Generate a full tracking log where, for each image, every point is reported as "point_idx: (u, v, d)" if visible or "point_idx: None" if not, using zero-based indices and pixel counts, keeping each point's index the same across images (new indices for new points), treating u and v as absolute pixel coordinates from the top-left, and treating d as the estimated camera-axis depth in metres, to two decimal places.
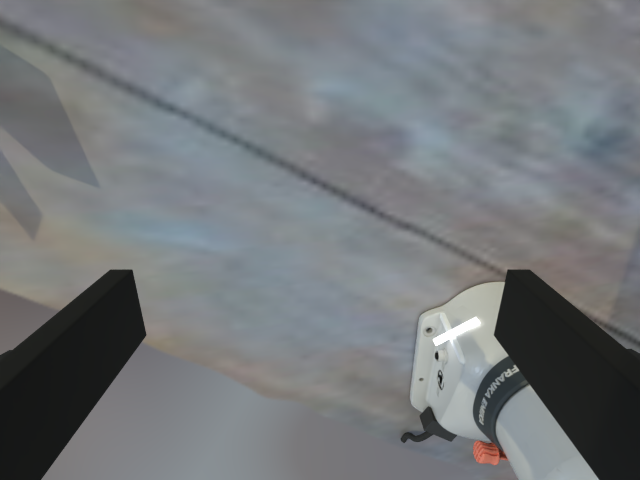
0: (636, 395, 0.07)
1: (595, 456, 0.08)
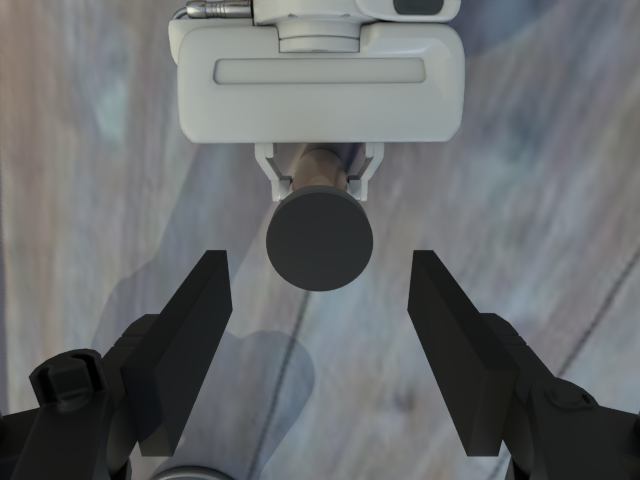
0: (466, 343, 0.09)
1: (450, 399, 0.10)
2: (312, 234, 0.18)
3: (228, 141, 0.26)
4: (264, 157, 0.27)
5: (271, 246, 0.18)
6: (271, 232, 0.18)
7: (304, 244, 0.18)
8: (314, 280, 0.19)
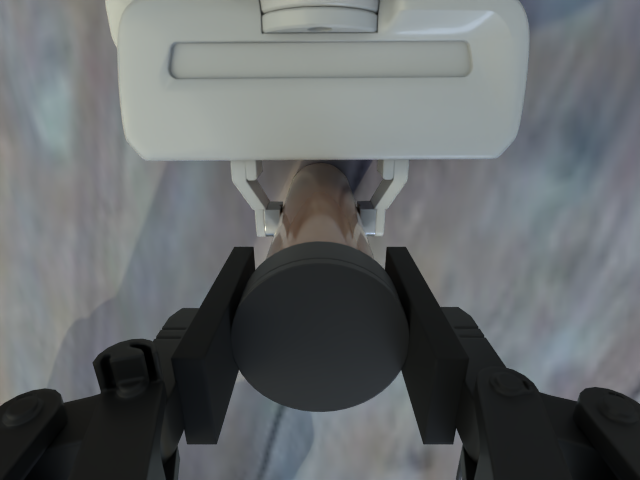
0: (423, 334, 0.09)
1: (412, 390, 0.10)
2: (308, 329, 0.10)
3: (193, 158, 0.19)
4: (244, 179, 0.20)
5: (238, 347, 0.11)
6: (238, 326, 0.10)
7: (295, 344, 0.11)
8: (311, 396, 0.11)
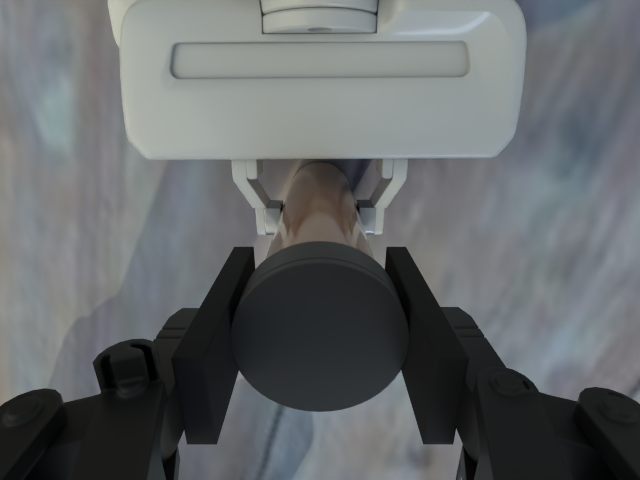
0: (423, 334, 0.09)
1: (412, 390, 0.10)
2: (314, 361, 0.11)
3: (194, 157, 0.19)
4: (245, 178, 0.20)
5: (373, 389, 0.11)
6: (354, 401, 0.11)
7: (336, 359, 0.11)
8: (377, 311, 0.10)
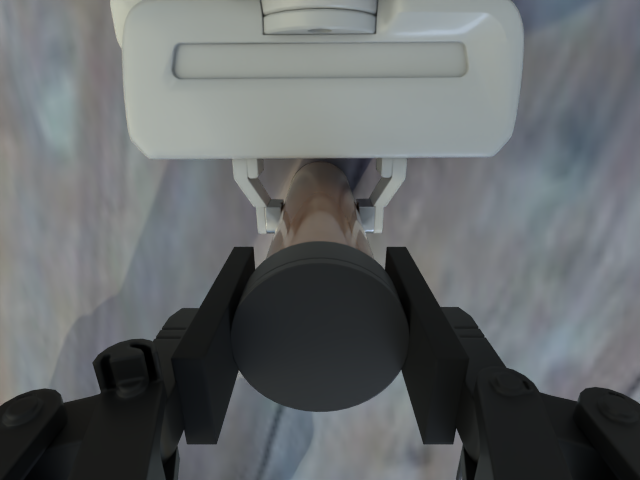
0: (423, 334, 0.09)
1: (412, 390, 0.10)
2: (339, 336, 0.11)
3: (196, 157, 0.19)
4: (246, 177, 0.20)
5: (324, 271, 0.10)
6: (351, 276, 0.10)
7: (322, 324, 0.10)
8: (252, 332, 0.10)
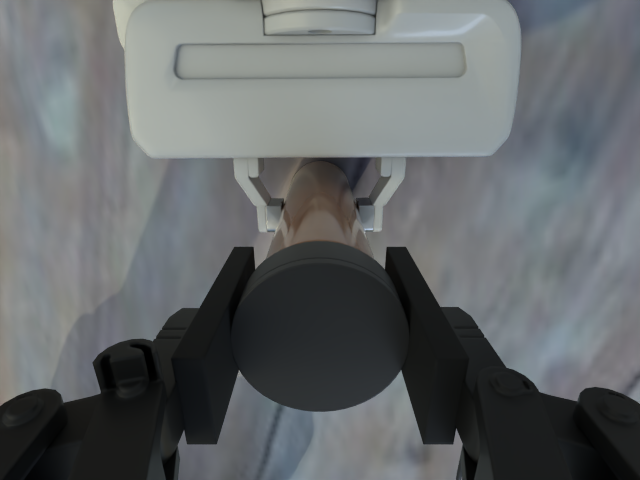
0: (423, 334, 0.09)
1: (412, 390, 0.10)
2: (299, 338, 0.11)
3: (197, 156, 0.19)
4: (246, 176, 0.20)
5: (260, 385, 0.11)
6: (245, 369, 0.11)
7: (300, 357, 0.11)
8: (352, 390, 0.11)
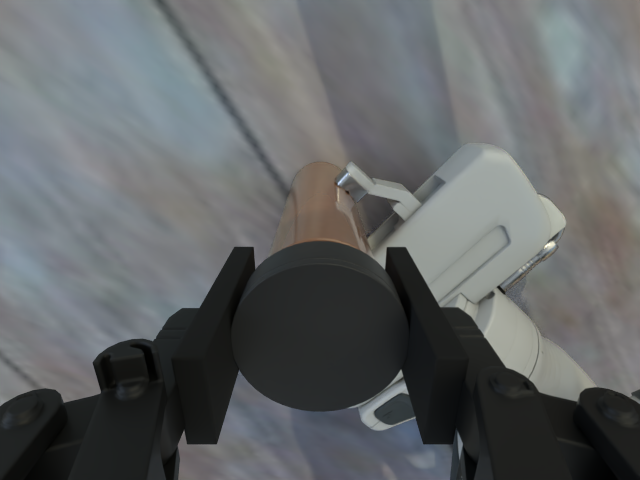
0: (423, 334, 0.09)
1: (412, 390, 0.10)
2: (299, 338, 0.11)
3: (449, 187, 0.20)
4: (401, 200, 0.21)
5: (260, 385, 0.11)
6: (245, 369, 0.11)
7: (301, 356, 0.11)
8: (352, 390, 0.11)
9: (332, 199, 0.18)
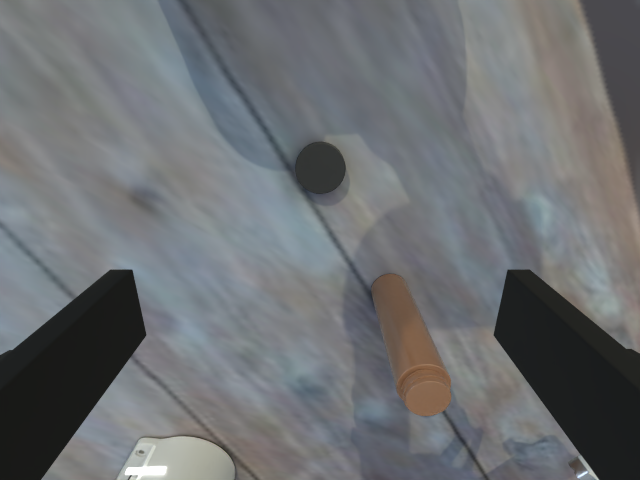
0: (636, 395, 0.07)
1: (595, 456, 0.08)
2: (314, 167, 0.38)
3: None
4: None
5: (303, 183, 0.39)
6: (299, 177, 0.39)
7: (315, 173, 0.38)
8: (329, 185, 0.39)
9: (417, 325, 0.35)
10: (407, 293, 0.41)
